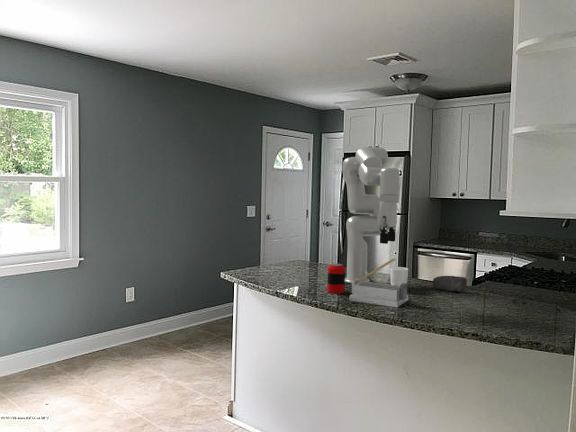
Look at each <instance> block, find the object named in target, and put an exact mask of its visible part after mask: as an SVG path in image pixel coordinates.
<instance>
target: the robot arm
mask: <svg viewBox="0 0 576 432" xmlns="http://www.w3.org/2000/svg"><path fill="white" fill-rule="evenodd" d="M388 159H389V154H388V152H387V150H386V149H385V148H384V147H378V146H377V147H376V146H375V147H374V146H373V147H371V146H364V147H363V146H362V147H361V148H358V149H357V151H356V152H355V156H350V157H347V158H345V159H344V160H343V162H342V169H341V170H342V176H343V179H344V181H345V184H346V193H347V194H346V195H347V208H348V212H349V213H351V214H354V216H350V217H349V218H347V219H346V223H345V225H346V226H345V227H346V236H347V237H346V238H347V249H346V250H347V257H346V259H347V260H346V276H345V283H348V284H352V280H353V279H355V278H358V279H360V278H362V277H363V276H365V275H367V274H368V273H369V271H368V270H367V269H368V243H367V241H366V240H365V239H364V237H378V236H379V244H385V245H387V244H389V242H396V231H397V230H396V227H397V223H398V204H399V202H400V199H399V197H400V172H401V171H400V169H399V168H397V167H385V166H387V165H386V164H387V163H388ZM365 186H367V187H375V186H376V187H377V186H379V196H378V195H377V194H372V193H371V194H367V193H366V190H365ZM355 214H356V215H355ZM357 214H358V215H357ZM361 215H362V216H361ZM366 215H367V216H366ZM362 281H365V282H371V280H370V278H369V277H366V278H365V279H363V280H361V281H360V282H361V283H362ZM360 282H358V284H359V283H360Z"/></svg>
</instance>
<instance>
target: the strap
mask: <svg viewBox="0 0 576 432" xmlns="http://www.w3.org/2000/svg"><path fill="white" fill-rule="evenodd" d="M394 261H396V258H392V259H390V260H389V261H386V262H385V263H383V264H381V265H380V266H379V267H377V268H375V269H374V270H372V271H370V272H368V274H367V275H365V276H363V277H362V278H360V279H358V280H356V283H358V282H360V281H361V280H363V279H365V278H366V277H367V278H369V276H371V275H373V274H375V273H376V272H378V271H380V270H382V269H383V268H385V267H387V266H388V265H390V264H392V263H393V262H394Z"/></svg>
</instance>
